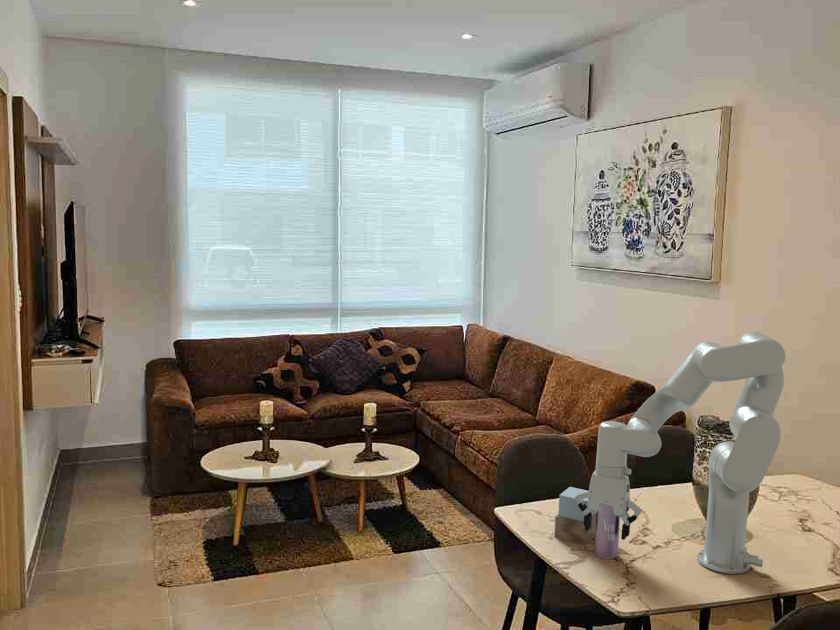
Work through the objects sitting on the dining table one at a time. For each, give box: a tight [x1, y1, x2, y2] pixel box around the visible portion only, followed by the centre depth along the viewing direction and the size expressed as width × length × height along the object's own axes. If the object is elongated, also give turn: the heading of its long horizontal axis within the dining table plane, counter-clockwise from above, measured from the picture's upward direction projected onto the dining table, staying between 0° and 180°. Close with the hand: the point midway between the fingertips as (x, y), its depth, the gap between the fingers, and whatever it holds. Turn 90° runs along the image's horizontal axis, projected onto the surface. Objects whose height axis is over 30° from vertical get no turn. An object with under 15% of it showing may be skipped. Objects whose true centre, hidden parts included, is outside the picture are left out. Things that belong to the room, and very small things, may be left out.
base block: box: [554, 514, 596, 545], centre depth 212 cm, size 9×9×6 cm
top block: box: [557, 486, 597, 522], centre depth 211 cm, size 8×8×6 cm
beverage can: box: [593, 501, 621, 560], centre depth 199 cm, size 6×6×15 cm
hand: (605, 533), depth 200 cm, fingers open, 9 cm apart
